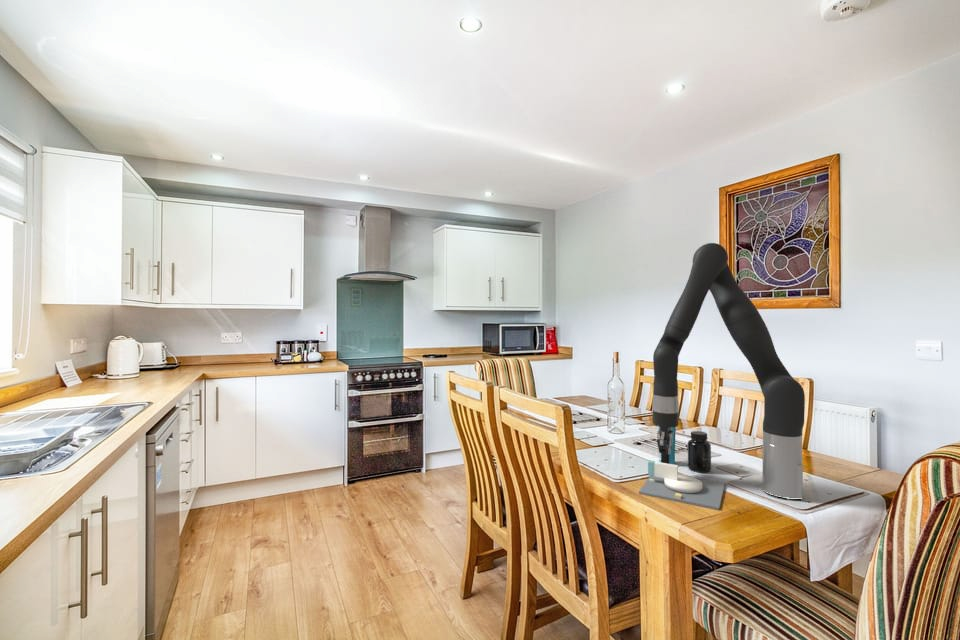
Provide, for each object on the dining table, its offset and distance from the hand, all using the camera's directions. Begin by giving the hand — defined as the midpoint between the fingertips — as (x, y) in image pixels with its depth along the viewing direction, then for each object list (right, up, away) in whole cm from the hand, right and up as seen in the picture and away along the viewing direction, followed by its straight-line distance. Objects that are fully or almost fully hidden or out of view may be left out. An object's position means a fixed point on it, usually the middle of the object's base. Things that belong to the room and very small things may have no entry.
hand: (665, 465), depth 139 cm
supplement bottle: (+14, -4, +7) cm, 16 cm away
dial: (0, -3, -8) cm, 8 cm away
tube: (+6, -4, +13) cm, 15 cm away
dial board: (+1, -4, -9) cm, 10 cm away
